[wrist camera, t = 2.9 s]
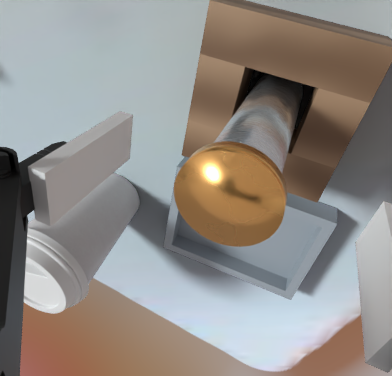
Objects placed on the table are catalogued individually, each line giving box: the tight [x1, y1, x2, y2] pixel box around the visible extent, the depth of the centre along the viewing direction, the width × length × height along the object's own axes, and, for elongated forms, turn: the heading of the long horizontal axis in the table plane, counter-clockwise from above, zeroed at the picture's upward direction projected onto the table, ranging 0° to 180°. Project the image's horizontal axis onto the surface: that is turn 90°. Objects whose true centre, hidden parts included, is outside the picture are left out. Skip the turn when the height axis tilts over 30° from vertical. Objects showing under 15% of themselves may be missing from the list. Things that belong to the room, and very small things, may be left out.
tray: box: [163, 156, 337, 300], centre depth 35 cm, size 12×16×2 cm
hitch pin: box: [174, 73, 303, 247], centre depth 21 cm, size 5×5×17 cm
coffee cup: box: [24, 173, 140, 313], centre depth 35 cm, size 10×10×15 cm
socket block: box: [182, 0, 392, 203], centre depth 26 cm, size 12×12×5 cm
